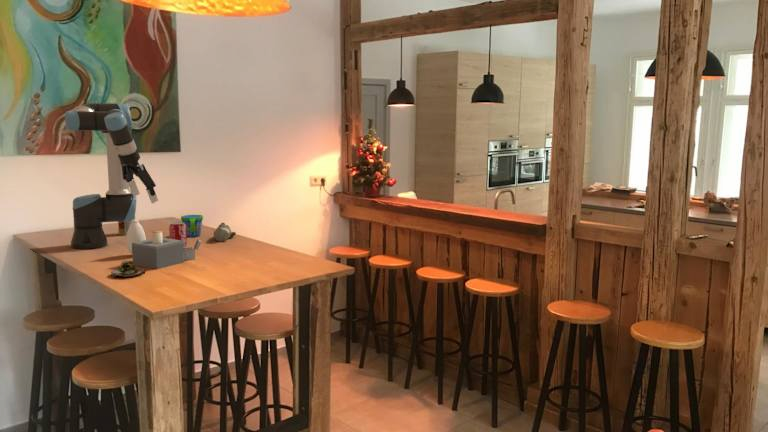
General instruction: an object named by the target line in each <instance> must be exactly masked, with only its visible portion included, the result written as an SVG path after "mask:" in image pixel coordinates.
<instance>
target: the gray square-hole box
mask: <svg viewBox="0 0 768 432" xmlns="http://www.w3.org/2000/svg"><path fill="white" fill-rule="evenodd" d="M131 260H132V262H133V264H132V265H134V266H137V267H139V266H140V267H142V268H143V267H144V268H148V267H149V268H150V269H155V270H159V268H160V269H163V268H167V267H171V266H173V265H177V264H182V263H184V262H185V260H184V244H183V241H182V240H175V239H170V238H167V237H163V243H160V244H152V238H149V239H148V238H147V239H146V240H143V241H138V242H133V243H132V253H131ZM149 268H148V269H149Z"/></svg>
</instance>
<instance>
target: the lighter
mask: <svg viewBox="0 0 768 432" xmlns="http://www.w3.org/2000/svg"><path fill="white" fill-rule="evenodd" d="M201 244H202V240H201V239H200V240H199V239H196V242H195V244H194V246H193V247H192V246H187V248H186V250H184V261H190V260H191V261H193V260H196V251H199V249H200V246H201Z"/></svg>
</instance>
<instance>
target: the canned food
mask: <svg viewBox="0 0 768 432" xmlns="http://www.w3.org/2000/svg"><path fill="white" fill-rule="evenodd" d="M133 220H134V219H133ZM131 223H132V220H131V221H124V222H123V221H119V222H117V224H118V235H119V236H126V235H127V231H128V228H129V226H130V224H131Z"/></svg>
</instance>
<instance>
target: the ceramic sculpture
mask: <svg viewBox="0 0 768 432" xmlns="http://www.w3.org/2000/svg"><path fill="white" fill-rule="evenodd" d="M236 235H237V234H236V232H235V231H232V229H231V227H230V226H229V225H228V224H225V222H221V223H220V224H219V225H218V226H217V227H216V229H215V230H214V231H213V237H214V239H215V241H217V242H227V240H228V239H229V238H233V237H235V236H236Z"/></svg>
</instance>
